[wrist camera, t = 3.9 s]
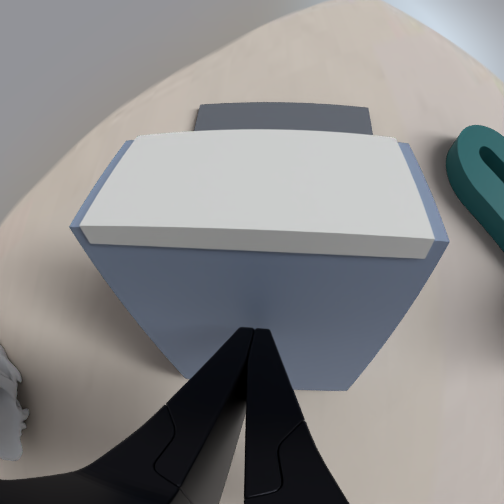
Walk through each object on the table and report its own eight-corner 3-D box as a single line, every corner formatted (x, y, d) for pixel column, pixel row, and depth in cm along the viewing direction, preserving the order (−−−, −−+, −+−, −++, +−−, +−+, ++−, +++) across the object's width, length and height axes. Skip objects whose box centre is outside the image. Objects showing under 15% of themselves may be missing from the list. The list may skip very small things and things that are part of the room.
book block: (346, 391, 14) (451, 240, 5) (185, 379, 15) (66, 225, 6) (346, 326, 16) (408, 139, 7) (198, 317, 17) (126, 137, 8)
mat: (383, 314, 16) (385, 313, 15) (166, 302, 17) (164, 301, 17) (367, 111, 20) (368, 107, 19) (201, 108, 21) (200, 104, 21)
